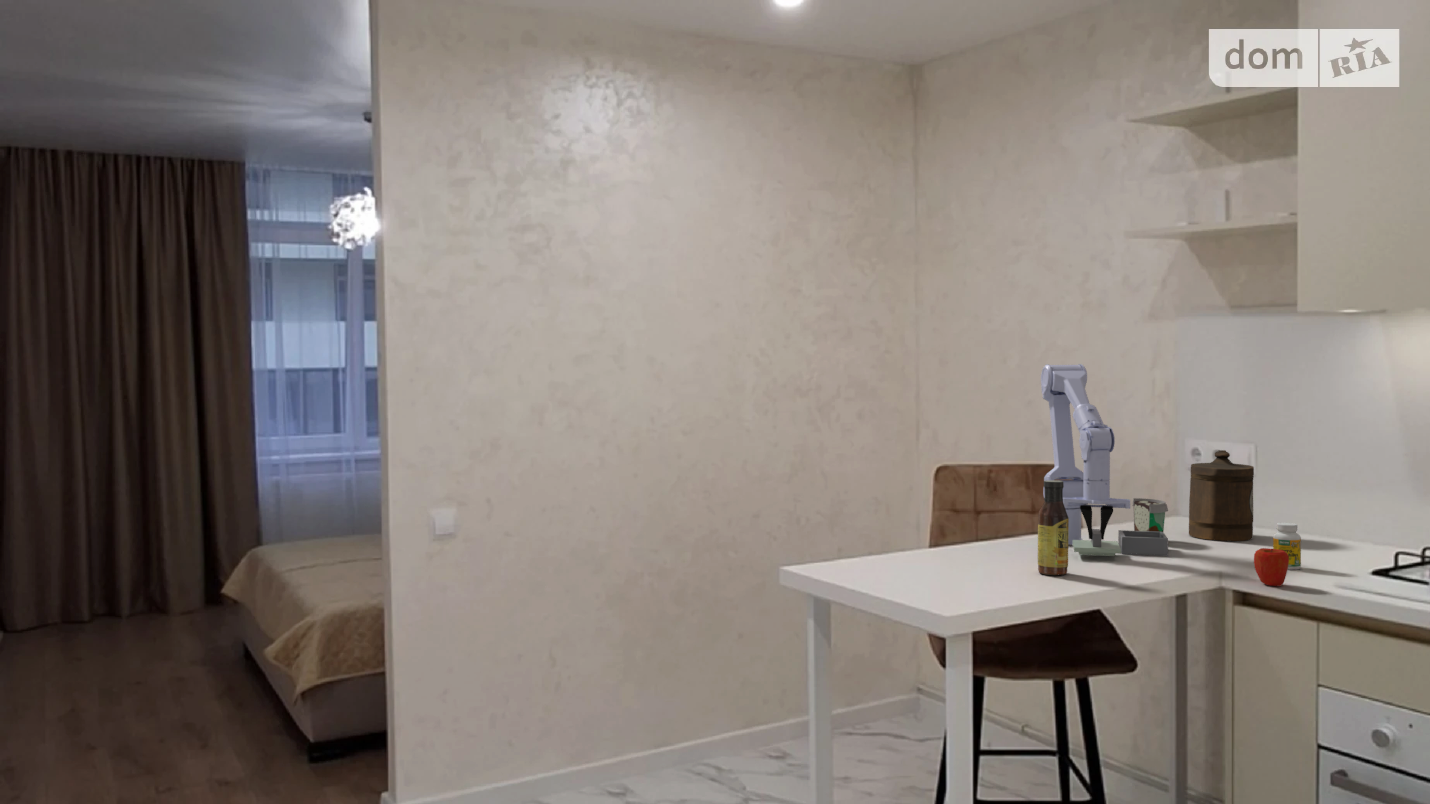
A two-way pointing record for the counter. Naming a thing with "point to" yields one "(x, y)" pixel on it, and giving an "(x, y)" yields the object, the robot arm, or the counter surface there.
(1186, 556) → the counter surface
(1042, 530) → the sauce bottle
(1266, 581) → the apple
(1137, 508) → the food container
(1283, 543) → the supplement bottle
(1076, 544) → the lid
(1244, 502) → the wooden container
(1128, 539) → the tub
